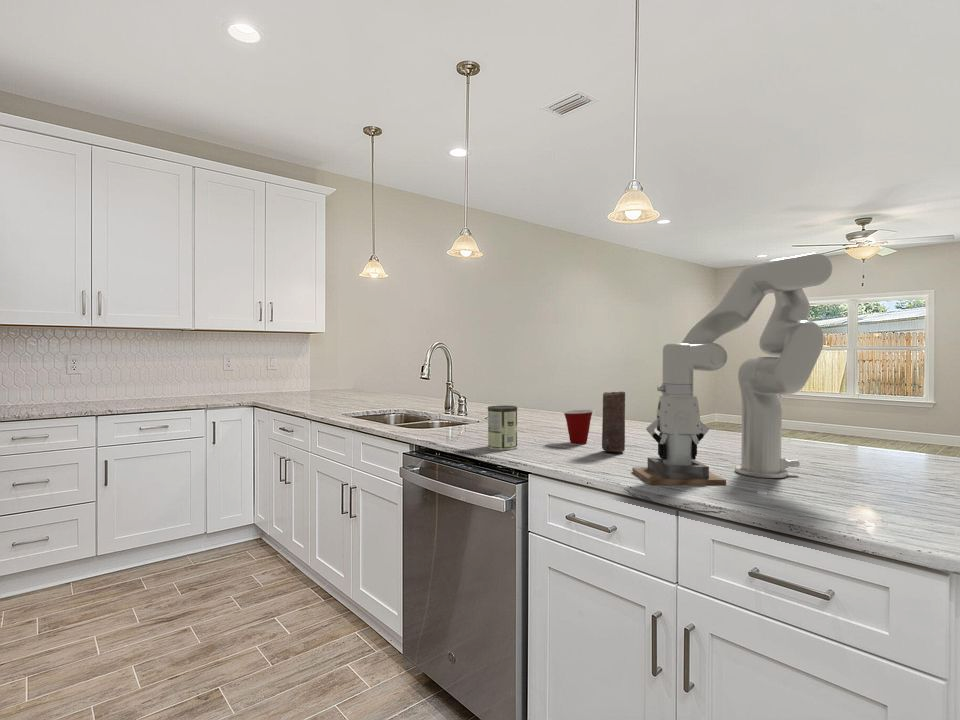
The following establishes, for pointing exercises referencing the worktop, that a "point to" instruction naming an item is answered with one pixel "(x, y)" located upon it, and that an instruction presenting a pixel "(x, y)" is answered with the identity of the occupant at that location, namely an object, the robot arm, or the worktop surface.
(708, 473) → the holder
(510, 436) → the coffee can
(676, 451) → the skincare box
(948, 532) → the worktop surface
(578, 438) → the plastic cup
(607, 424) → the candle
